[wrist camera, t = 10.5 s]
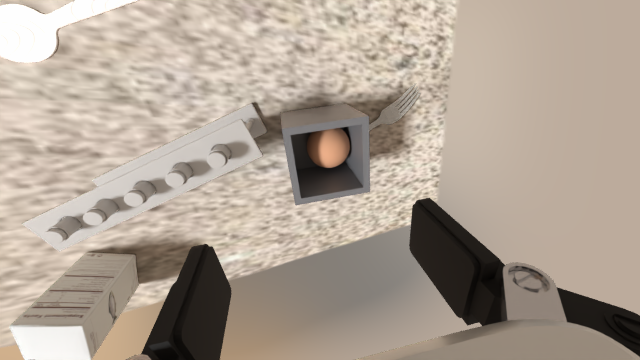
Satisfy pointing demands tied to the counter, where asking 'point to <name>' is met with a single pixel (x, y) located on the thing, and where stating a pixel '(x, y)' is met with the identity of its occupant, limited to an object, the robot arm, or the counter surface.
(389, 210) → the counter surface
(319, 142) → the ball
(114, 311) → the supplement box
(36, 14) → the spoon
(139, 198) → the test tube rack
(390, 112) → the fork
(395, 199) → the counter surface
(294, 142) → the grey open square box
